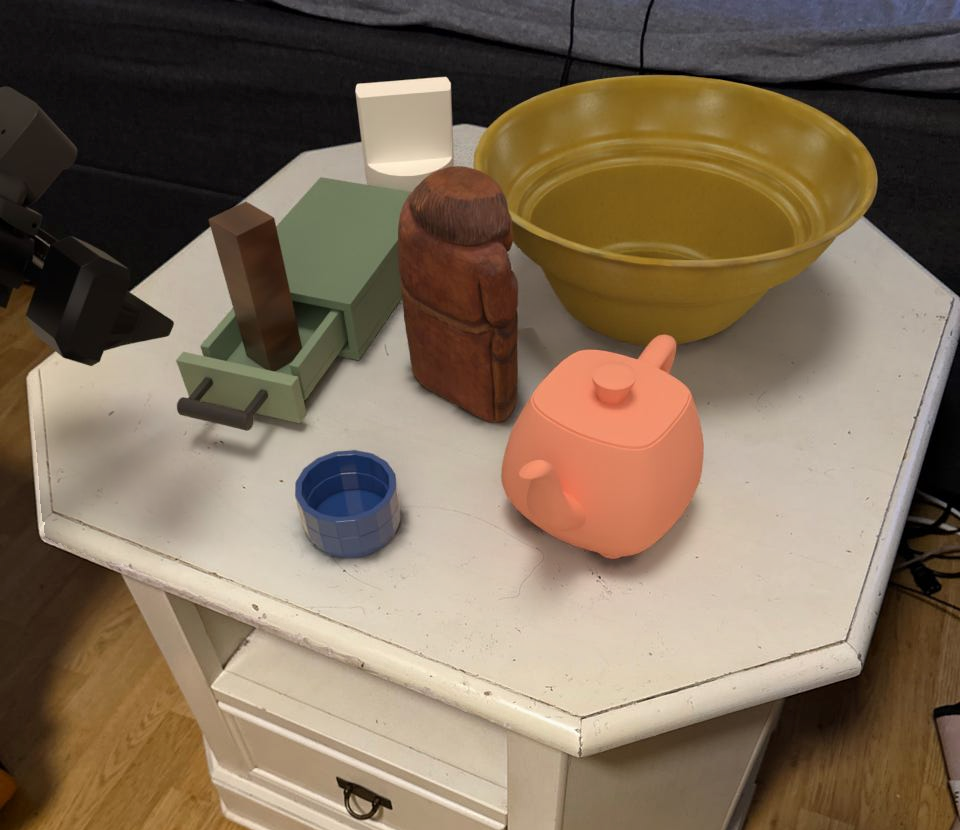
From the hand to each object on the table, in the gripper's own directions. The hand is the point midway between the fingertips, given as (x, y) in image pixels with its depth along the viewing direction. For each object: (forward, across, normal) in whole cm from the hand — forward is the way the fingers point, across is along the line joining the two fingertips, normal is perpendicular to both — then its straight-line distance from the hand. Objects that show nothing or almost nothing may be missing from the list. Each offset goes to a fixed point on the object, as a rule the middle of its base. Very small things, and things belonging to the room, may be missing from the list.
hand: (133, 301), depth 61 cm
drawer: (+15, +1, 0) cm, 16 cm away
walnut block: (+14, 0, 0) cm, 14 cm away
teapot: (+20, -30, -3) cm, 36 cm away
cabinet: (+24, +6, -7) cm, 26 cm away
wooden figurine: (+23, -13, -6) cm, 27 cm away
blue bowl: (+11, -18, +6) cm, 22 cm away
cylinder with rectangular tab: (+35, +11, -17) cm, 40 cm away
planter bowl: (+37, -17, -20) cm, 46 cm away
